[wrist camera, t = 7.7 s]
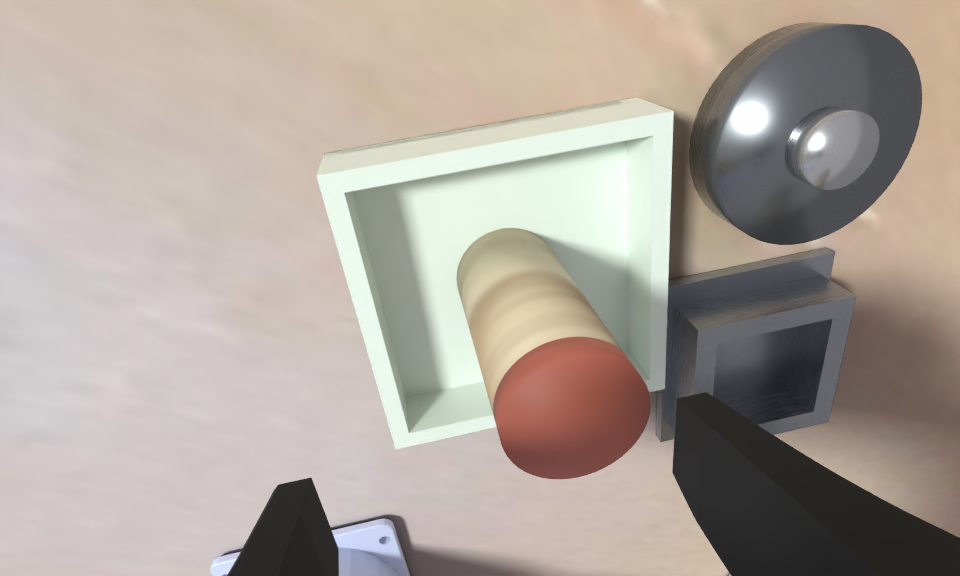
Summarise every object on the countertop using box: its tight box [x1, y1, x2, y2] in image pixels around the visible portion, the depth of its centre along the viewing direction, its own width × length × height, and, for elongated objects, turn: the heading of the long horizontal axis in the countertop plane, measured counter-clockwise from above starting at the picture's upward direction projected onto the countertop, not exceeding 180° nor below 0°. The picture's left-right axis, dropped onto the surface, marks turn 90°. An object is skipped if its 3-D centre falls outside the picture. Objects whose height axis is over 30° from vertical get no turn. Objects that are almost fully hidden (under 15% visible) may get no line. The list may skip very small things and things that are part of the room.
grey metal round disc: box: [689, 23, 922, 245], centre depth 18 cm, size 7×7×3 cm
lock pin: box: [456, 228, 650, 479], centre depth 16 cm, size 4×4×8 cm
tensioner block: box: [656, 248, 856, 442], centre depth 22 cm, size 8×7×2 cm
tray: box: [317, 98, 674, 449], centre depth 19 cm, size 10×10×2 cm
